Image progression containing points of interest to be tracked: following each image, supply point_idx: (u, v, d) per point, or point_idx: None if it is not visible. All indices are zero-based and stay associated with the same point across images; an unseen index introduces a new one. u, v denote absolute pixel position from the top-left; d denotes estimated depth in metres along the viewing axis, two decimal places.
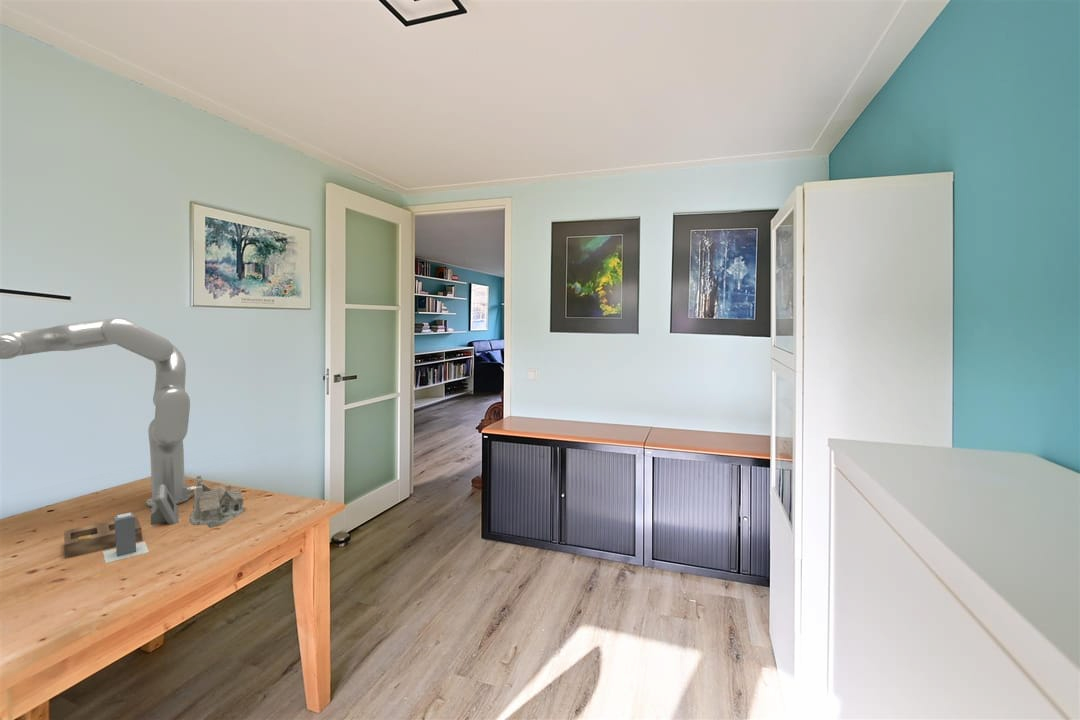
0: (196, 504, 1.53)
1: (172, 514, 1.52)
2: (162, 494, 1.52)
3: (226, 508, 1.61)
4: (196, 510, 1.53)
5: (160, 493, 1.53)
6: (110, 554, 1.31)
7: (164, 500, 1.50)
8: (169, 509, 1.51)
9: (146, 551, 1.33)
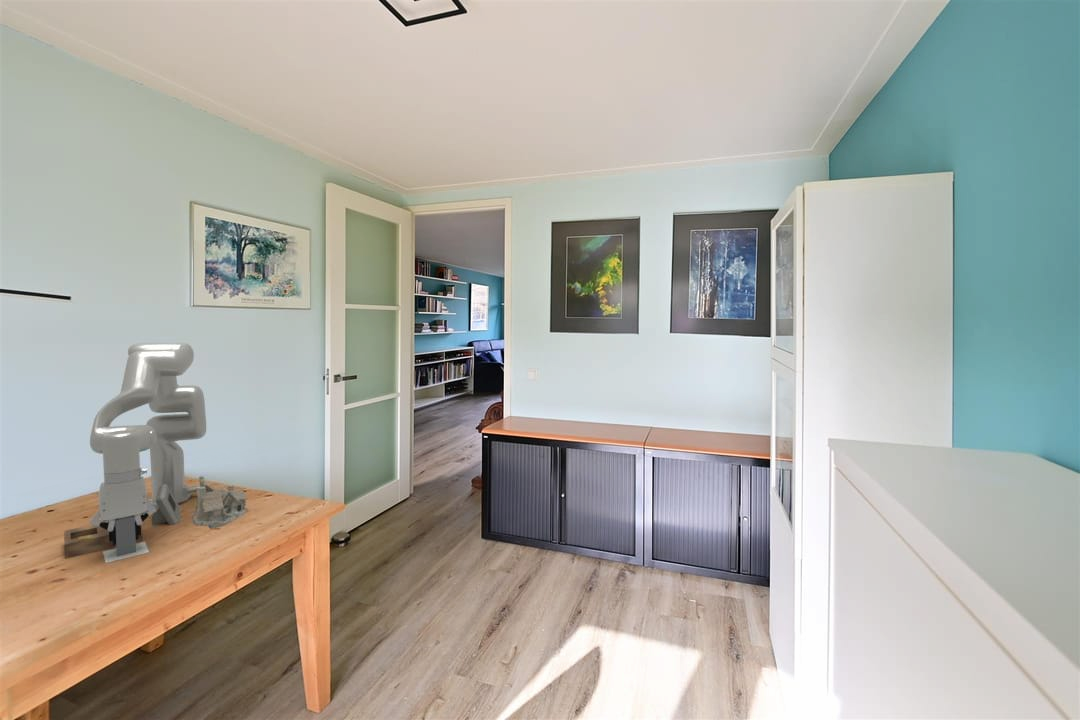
0: (199, 505, 1.52)
1: (173, 514, 1.51)
2: (163, 494, 1.52)
3: (229, 509, 1.61)
4: (199, 511, 1.52)
5: (161, 493, 1.53)
6: (110, 554, 1.31)
7: (165, 500, 1.50)
8: (170, 509, 1.51)
9: (146, 551, 1.33)
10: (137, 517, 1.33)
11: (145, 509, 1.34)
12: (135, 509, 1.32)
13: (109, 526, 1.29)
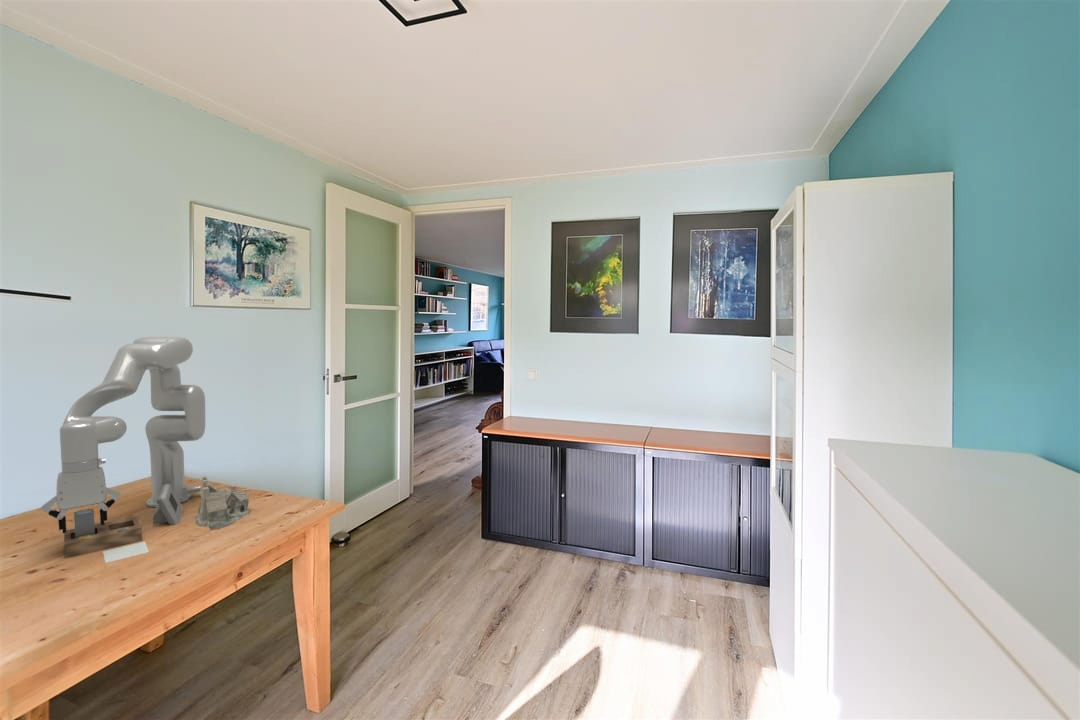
0: (203, 505, 1.52)
1: (173, 514, 1.51)
2: (164, 494, 1.52)
3: (232, 509, 1.60)
4: (203, 511, 1.52)
5: (162, 493, 1.53)
6: (110, 554, 1.31)
7: (165, 500, 1.50)
8: (170, 509, 1.51)
9: (146, 551, 1.33)
10: (100, 504, 1.37)
11: (103, 498, 1.37)
12: (93, 498, 1.35)
13: (60, 514, 1.31)
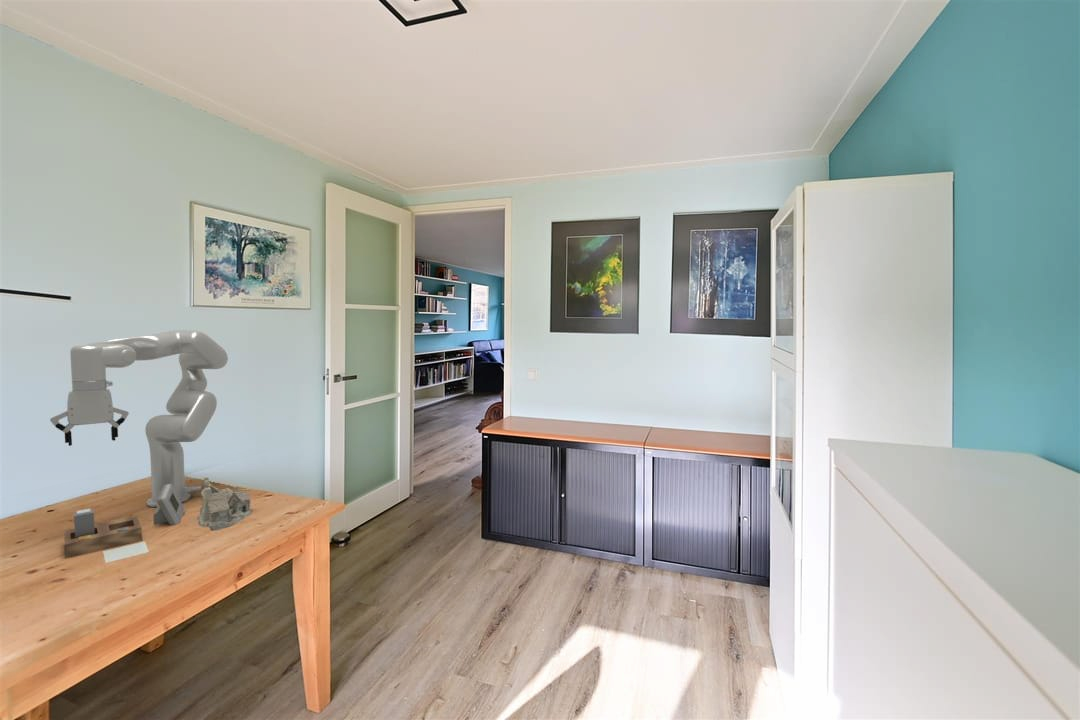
0: (205, 506, 1.52)
1: (174, 515, 1.51)
2: (165, 494, 1.52)
3: (234, 509, 1.60)
4: (205, 512, 1.51)
5: (163, 493, 1.53)
6: (110, 554, 1.31)
7: (166, 500, 1.50)
8: (171, 510, 1.51)
9: (146, 551, 1.33)
10: (111, 421, 1.47)
11: (111, 418, 1.46)
12: (101, 417, 1.45)
13: (67, 427, 1.40)
